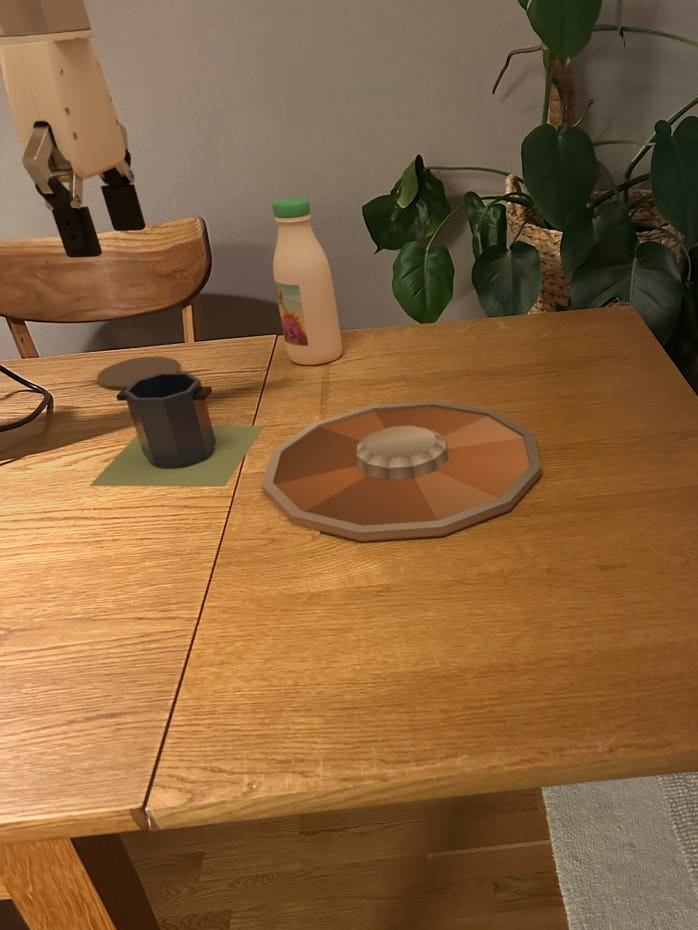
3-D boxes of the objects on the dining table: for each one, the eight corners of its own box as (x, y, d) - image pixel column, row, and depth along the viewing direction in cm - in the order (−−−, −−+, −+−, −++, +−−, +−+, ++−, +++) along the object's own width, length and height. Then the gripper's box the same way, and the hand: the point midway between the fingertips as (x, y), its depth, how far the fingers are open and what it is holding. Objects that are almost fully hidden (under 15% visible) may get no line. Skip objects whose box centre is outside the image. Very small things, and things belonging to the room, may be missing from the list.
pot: (127, 469, 93) (103, 399, 88) (153, 439, 98) (132, 372, 93) (212, 469, 92) (193, 399, 87) (233, 439, 97) (217, 372, 92)
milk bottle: (337, 343, 122) (315, 191, 110) (348, 361, 116) (325, 202, 104) (284, 351, 120) (255, 197, 108) (292, 369, 115) (263, 209, 102)
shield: (316, 380, 102) (560, 390, 97) (320, 405, 104) (559, 416, 99) (206, 503, 80) (517, 525, 74) (215, 532, 82) (517, 555, 76)
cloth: (90, 487, 90) (89, 485, 90) (145, 428, 102) (144, 425, 101) (225, 488, 89) (224, 486, 88) (265, 427, 100) (264, 425, 100)
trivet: (84, 392, 111) (82, 386, 111) (119, 362, 120) (117, 356, 119) (164, 392, 110) (162, 386, 110) (193, 361, 119) (191, 356, 118)
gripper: (49, 17, 76) (111, 222, 87) (-65, 28, 63) (25, 269, 73) (127, 12, 75) (180, 219, 86) (29, 22, 62) (106, 266, 73)
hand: (108, 242), depth 80 cm, fingers open, 9 cm apart
